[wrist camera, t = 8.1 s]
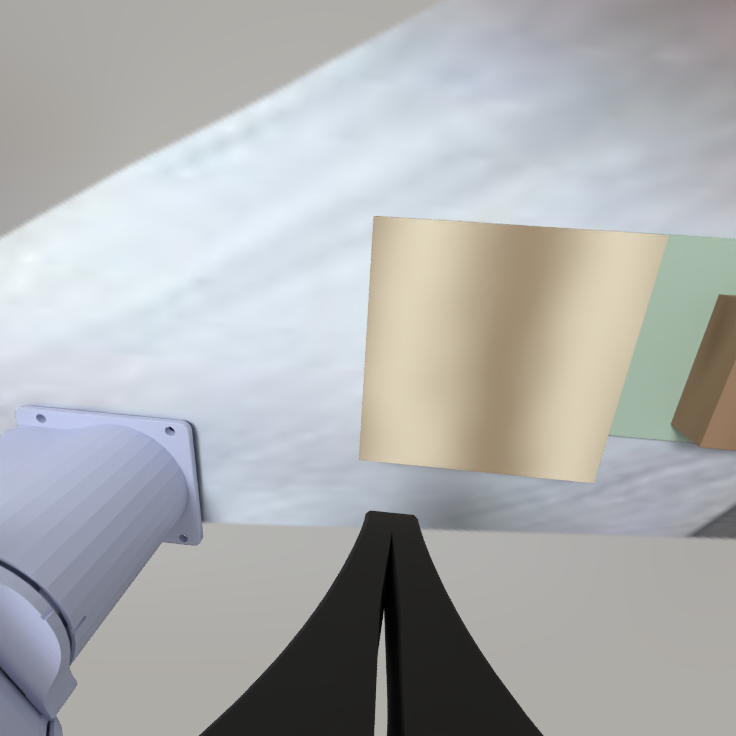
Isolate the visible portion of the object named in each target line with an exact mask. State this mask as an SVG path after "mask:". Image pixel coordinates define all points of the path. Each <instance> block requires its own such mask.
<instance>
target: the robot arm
mask: <svg viewBox="0 0 736 736" xmlns="http://www.w3.org/2000/svg"><path fill="white" fill-rule="evenodd" d="M43 416H44V417H45V418H46V419H45V418H44V417H43ZM15 418H16V422H17V426H16V427H14V428H13V429H11V430H9V431H7V432H5V433H3V434H2V435H0V736H63V735H62V727H61V724H60V722H59V720H58V718H57V717H56V714H57V713H58V712H59V710H60V709H61V707H62V706H63V705H64V703H65V702H66V700H67V699H68V697H69V696H70V694H71V693H72V692H73V690H74V689H75V687H76V686H77V681H76V680H75V678H74V677H73V675H72V673H71V671H70V667H69V666H70V665H71V664H72V662H73V661H74V660H75V658H76V657H77V656H78V654H79V653H80V652H81V650H82V649H83V648H84V646H85V645H86V644H87V642H88V641H89V640H90V638H91V637H92V636H93V634H94V633H95V631H96V630H97V629H98V628H99V626H100V625H101V623H102V622H103V621H104V619H105V618H106V617H107V615H108V614H109V613H110V611H111V610H112V609H113V607H114V606H115V605H116V603H117V602H118V601H119V599H120V598H121V597H122V595H123V594H124V593H125V591H126V590H127V588H128V587H129V586H130V585H131V583H132V582H133V581H134V579H135V578H136V577H137V575H138V574H139V572H140V571H141V570H142V568H143V567H144V566H145V564H146V563H147V562H148V560H149V559H150V558H151V556H152V555H153V554H154V552H155V551H156V550H157V548H158V547H159V546H160V544H161V543H162V542H167V543H176V544H184V545H198V544H199V543H200V542H201V540H202V538H203V532H202V521H201V511H200V502H199V492H198V483H197V473H196V463H195V454H194V444H193V435H192V428H191V426H190V425H189V423H187V422H186V421H182V420H173V419H163V418H152V417H142V416H131V415H121V414H111V413H100V412H90V411H80V410H69V409H59V408H48V407H38V406H28V405H25V406H22V407H20V408H18V409H16V410H15ZM169 427H172V428H173V429H174V431H175V432H173V431H171V430H170V428H169ZM184 535H185V536H184ZM186 536H187V537H186ZM383 613H384V615H385V616H384V617H385V646H386V673H387V698H388V699H387V700H388V703H387V704H388V705H387V707H388V724H387V736H543V735H542V733H541V732H540V731H539V730H538V728H537V727H536V726H535V725H534V724H533V722H532V721H531V720H530V719H529V717H528V716H527V715H526V714H525V712H524V711H523V710H522V708H521V707H520V705H519V704H518V703H517V701H516V700H515V699H514V698H513V696H512V695H511V693H510V692H509V691H508V689H507V688H506V687H505V685H504V684H503V683H502V681H501V680H500V679H499V677H498V676H497V675H496V673H495V672H494V670H493V669H492V667H491V666H490V664H489V663H488V661H487V660H486V658H485V657H484V655H483V654H482V652H481V651H480V649H479V648H478V646H477V644H476V643H475V641H474V640H473V638H472V636H471V635H470V633H469V632H468V630H467V628H466V627H465V625H464V623H463V621H462V620H461V618H460V616H459V614H458V613H457V611H456V609H455V607H454V605H453V603H452V601H451V599H450V598H449V596H448V594H447V592H446V590H445V588H444V586H443V584H442V582H441V579H440V577H439V575H438V573H437V571H436V569H435V566H434V564H433V562H432V560H431V557H430V555H429V552H428V550H427V547H426V545H425V542H424V539H423V536H422V533H421V530H420V526H419V523H418V519H417V518H416V517H415V515H408V514H398V513H388V512H379V511H369V512H368V513H366V515H365V520H364V523H363V526H362V528H361V531H360V534H359V536H358V538H357V540H356V542H355V545H354V547H353V549H352V551H351V553H350V555H349V556H348V558H347V560H346V562H345V564H344V566H343V567H342V569H341V571H340V573H339V574H338V576H337V577H336V579H335V581H334V582H333V584H332V586H331V587H330V589H329V590H328V592H327V594H326V595H325V597H324V598H323V600H322V601H321V602H320V604H319V605H318V607H317V608H316V610H315V611H314V612H313V614H312V615H311V616H310V618H309V619H308V621H307V622H306V623H305V625H304V626H303V627H302V629H301V630H300V631H299V632H298V633H297V635H296V636H295V637H294V638H293V640H292V641H291V642H290V643H289V644H288V646H287V647H286V648H285V649H284V651H283V652H282V653H281V654H280V655H279V656H278V658H277V659H276V660H275V661H274V662H273V663H272V664H271V665H270V666H269V667H268V668H267V670H266V671H265V672H264V673H263V674H262V675H261V676H260V677H259V678H258V679H257V680H256V681H255V682H254V683H253V684H252V685H251V686H250V688H249V689H248V690H247V691H246V692H245V693H244V694H243V695H242V696H241V697H240V698H239V699H238V700H237V701H236V702H235V703H234V704H233V705H232V706H231V707H230V708H228V709H227V710H226V711H225V712H224V713H223V714H222V715H221V716H220V717H219V718H218V719H217V720H215V721H214V723H212V724H211V725H210V726H209V727H208V728H207V729H206V730H205V731H204V732H203V733H202V734H200V735H199V736H374V725H375V700H376V677H377V656H378V647H379V641H380V633H381V626H382V620H383Z"/></svg>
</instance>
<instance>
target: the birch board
mask: <svg viewBox="0 0 736 736" xmlns="http://www.w3.org/2000/svg"><path fill="white" fill-rule="evenodd" d="M668 238H669V235H658V234H645V233H632V232H618V231H602V230H586V229H571V228H555V227H540V226H524V225H509V224H493V223H477V222H462V221H446V220H431V219H415V218H399V217H384V216H374V219H373V236H372V252H371V269H370V285H369V302H368V318H367V335H366V351H365V368H364V384H363V401H362V417H361V434H360V450H359V460H366V461H376V462H386V463H396V464H406V465H416V466H427V467H437V468H447V469H457V470H467V471H477V472H487V473H497V474H507V475H517V476H527V477H537V478H547V479H557V480H567V481H577V482H587V483H594V481H595V478H596V474H597V471H598V468H599V465H600V461H601V458H602V455H603V451H604V448H605V445H606V441H607V438H608V435H609V432H610V428H611V425H612V422H613V418H614V415H615V412H616V409H617V405H618V402H619V399H620V395H621V392H622V389H623V386H624V382H625V379H626V376H627V372H628V369H629V366H630V363H631V359H632V356H633V353H634V349H635V346H636V343H637V339H638V336H639V333H640V330H641V326H642V323H643V320H644V316H645V313H646V310H647V307H648V303H649V300H650V297H651V293H652V290H653V287H654V284H655V280H656V277H657V274H658V270H659V267H660V264H661V261H662V257H663V254H664V251H665V247H666V244H667V241H668Z"/></svg>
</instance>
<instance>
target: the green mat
mask: <svg viewBox="0 0 736 736" xmlns="http://www.w3.org/2000/svg"><path fill="white" fill-rule="evenodd" d="M632 233H633V232H632ZM645 234H649V233H645ZM658 235H664V234H658ZM719 294H723V295H736V239H727V238H711V237H695V236H680V235H669V238H668V241H667V244H666V247H665V251H664V254H663V257H662V261H661V264H660V267H659V270H658V274H657V277H656V280H655V284H654V287H653V290H652V293H651V297H650V300H649V303H648V307H647V310H646V313H645V316H644V320H643V323H642V326H641V330H640V333H639V336H638V339H637V343H636V346H635V349H634V353H633V356H632V359H631V363H630V366H629V369H628V372H627V376H626V379H625V382H624V386H623V389H622V392H621V395H620V399H619V402H618V405H617V409H616V412H615V415H614V418H613V422H612V425H611V428H610V432H609V435H613V436H624V437H635V438H645V439H656V440H667V441H678V442H689V443H694V442H693V441H691V440H690V439H689V438H688V437H686V436H685V435H684V434H683V433H681V432H680V431H679V430H678V429H676V428H675V427H674V426H672V425H671V422H672V419H673V416H674V414H675V411H676V408H677V406H678V403H679V400H680V398H681V395H682V392H683V390H684V387H685V384H686V382H687V379H688V376H689V373H690V371H691V368H692V365H693V363H694V360H695V357H696V355H697V352H698V349H699V347H700V344H701V341H702V339H703V336H704V333H705V331H706V328H707V325H708V323H709V320H710V317H711V314H712V312H713V309H714V306H715V304H716V301H717V298H718V296H719Z"/></svg>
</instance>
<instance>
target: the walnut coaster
mask: <svg viewBox="0 0 736 736" xmlns="http://www.w3.org/2000/svg"><path fill="white" fill-rule="evenodd" d="M671 425H672V426H674V427H675V428H676V429H678V430H679V431H680V432H681V433H683V434H684V435H685V436H686V437H688V438H689V439H690V440H691V441H693V442H694V443H695V444H697V445H698V446H699V447H705V448H715V449H725V450H734V451H736V295H723V294H719V296H718V298H717V301H716V304H715V306H714V309H713V312H712V314H711V317H710V320H709V323H708V325H707V328H706V331H705V333H704V336H703V339H702V341H701V344H700V347H699V349H698V352H697V355H696V357H695V360H694V363H693V365H692V368H691V371H690V373H689V376H688V379H687V382H686V384H685V387H684V390H683V392H682V395H681V398H680V400H679V403H678V406H677V408H676V411H675V414H674V416H673V419H672V422H671Z"/></svg>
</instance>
